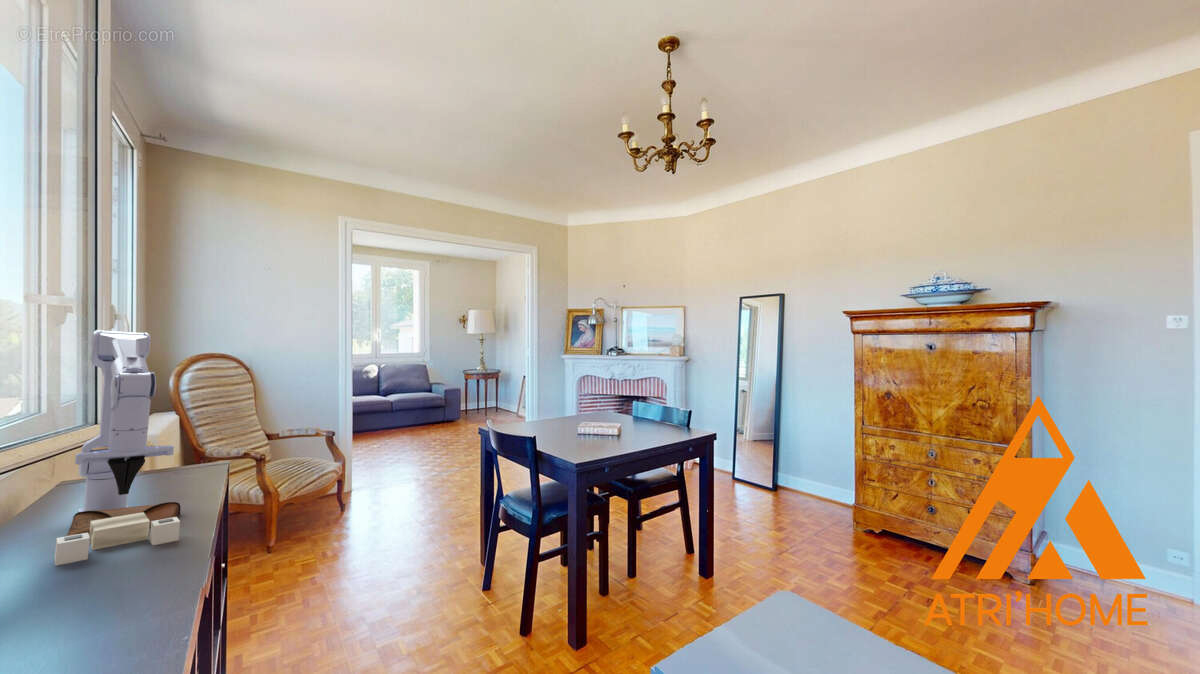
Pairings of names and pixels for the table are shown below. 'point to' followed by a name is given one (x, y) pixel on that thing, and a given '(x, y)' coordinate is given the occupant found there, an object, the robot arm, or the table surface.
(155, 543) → the cream block marked 2
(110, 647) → the table surface
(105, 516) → the sunglasses case
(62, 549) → the cream block marked 1
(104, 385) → the robot arm
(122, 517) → the plain birch block
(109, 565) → the table surface
